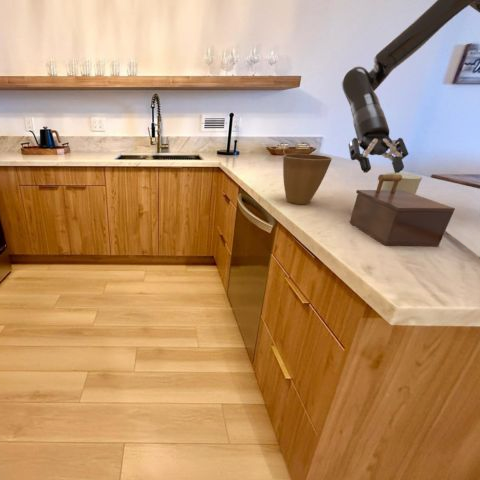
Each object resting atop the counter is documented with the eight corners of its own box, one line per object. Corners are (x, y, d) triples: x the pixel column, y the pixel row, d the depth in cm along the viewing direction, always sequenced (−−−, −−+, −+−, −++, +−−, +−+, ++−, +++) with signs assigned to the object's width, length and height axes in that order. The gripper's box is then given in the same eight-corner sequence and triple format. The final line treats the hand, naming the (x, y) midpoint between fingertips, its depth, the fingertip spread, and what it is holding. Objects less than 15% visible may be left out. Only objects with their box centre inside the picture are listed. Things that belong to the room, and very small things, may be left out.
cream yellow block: (374, 204, 100) (385, 169, 95) (407, 209, 95) (421, 173, 90) (373, 211, 93) (385, 174, 88) (409, 217, 88) (424, 178, 83)
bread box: (349, 222, 84) (357, 193, 80) (393, 223, 83) (403, 193, 80) (385, 245, 70) (397, 211, 66) (438, 246, 69) (453, 211, 66)
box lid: (356, 192, 81) (361, 172, 79) (401, 192, 81) (408, 172, 78) (397, 211, 66) (405, 187, 64) (453, 211, 66) (464, 187, 63)
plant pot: (323, 209, 95) (335, 160, 88) (276, 205, 100) (284, 158, 93) (318, 198, 108) (328, 154, 101) (276, 194, 112) (283, 152, 106)
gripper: (352, 115, 82) (365, 163, 76) (404, 115, 81) (421, 163, 75) (338, 133, 89) (349, 178, 83) (385, 133, 88) (399, 178, 82)
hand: (383, 171), depth 79 cm, fingers open, 8 cm apart
